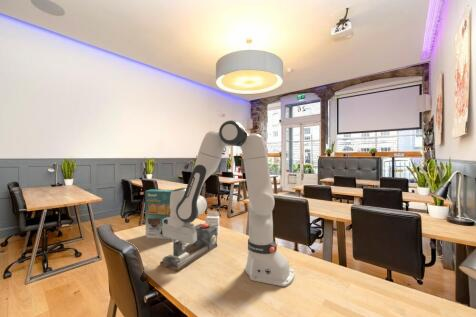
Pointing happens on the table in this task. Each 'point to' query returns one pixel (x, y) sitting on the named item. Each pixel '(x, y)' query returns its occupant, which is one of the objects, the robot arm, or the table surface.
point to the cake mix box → (156, 211)
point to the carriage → (178, 252)
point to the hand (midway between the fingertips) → (179, 248)
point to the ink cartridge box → (213, 219)
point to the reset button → (204, 225)
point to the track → (194, 248)
